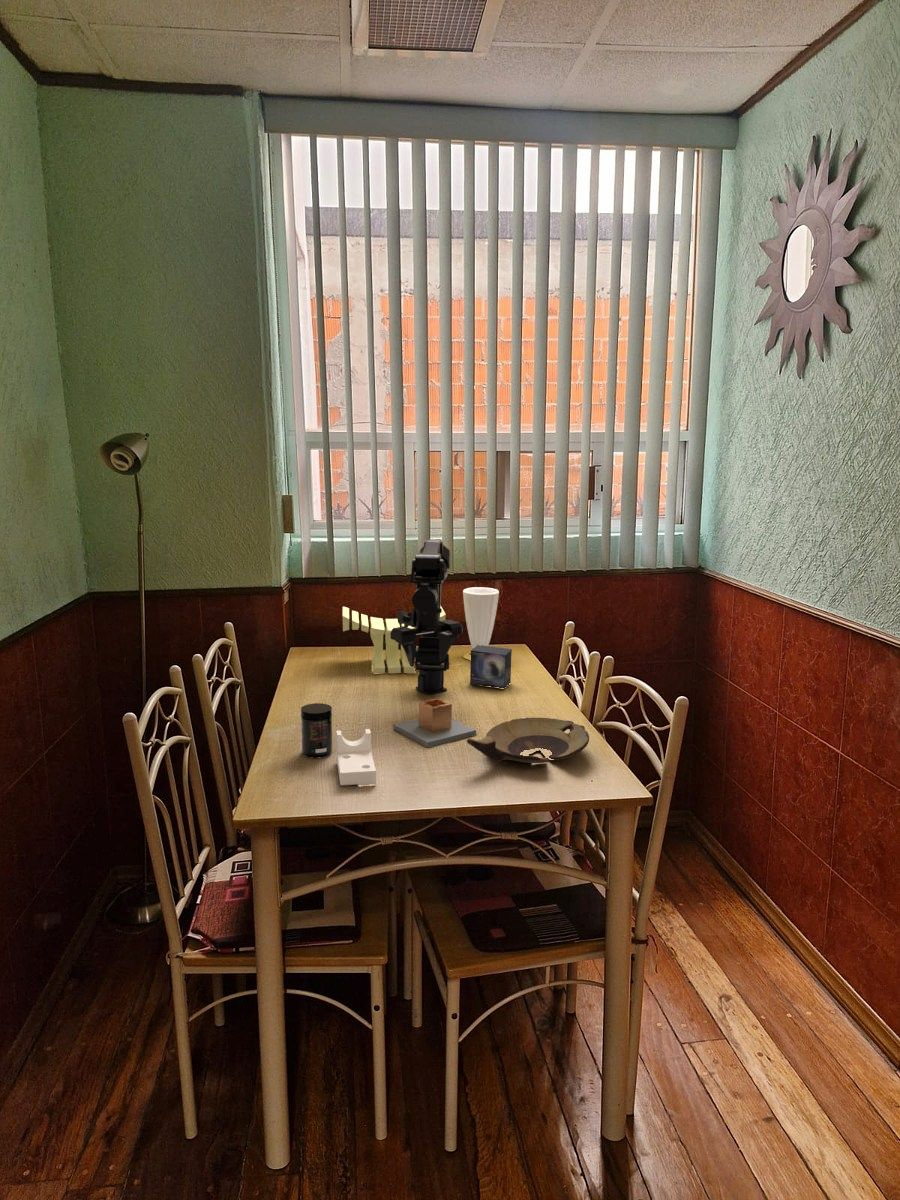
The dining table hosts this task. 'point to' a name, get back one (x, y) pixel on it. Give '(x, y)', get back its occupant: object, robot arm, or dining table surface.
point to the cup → (480, 613)
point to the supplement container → (316, 730)
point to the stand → (435, 738)
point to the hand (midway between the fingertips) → (426, 663)
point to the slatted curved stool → (377, 638)
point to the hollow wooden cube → (435, 715)
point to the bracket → (355, 760)
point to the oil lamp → (532, 739)
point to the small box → (490, 666)
